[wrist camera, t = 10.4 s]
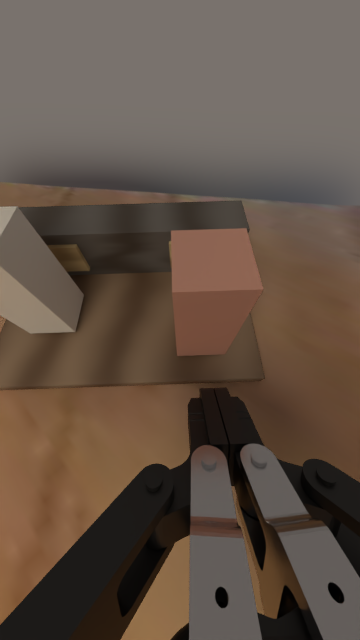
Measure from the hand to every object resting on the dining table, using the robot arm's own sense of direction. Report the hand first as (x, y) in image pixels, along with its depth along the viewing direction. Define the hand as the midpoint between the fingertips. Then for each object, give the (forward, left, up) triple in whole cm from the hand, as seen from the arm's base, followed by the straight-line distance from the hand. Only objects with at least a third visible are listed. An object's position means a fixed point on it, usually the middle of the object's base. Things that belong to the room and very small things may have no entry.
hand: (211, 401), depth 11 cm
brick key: (+2, +6, -4) cm, 7 cm away
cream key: (-9, +12, -4) cm, 16 cm away
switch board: (-2, +13, -5) cm, 14 cm away
